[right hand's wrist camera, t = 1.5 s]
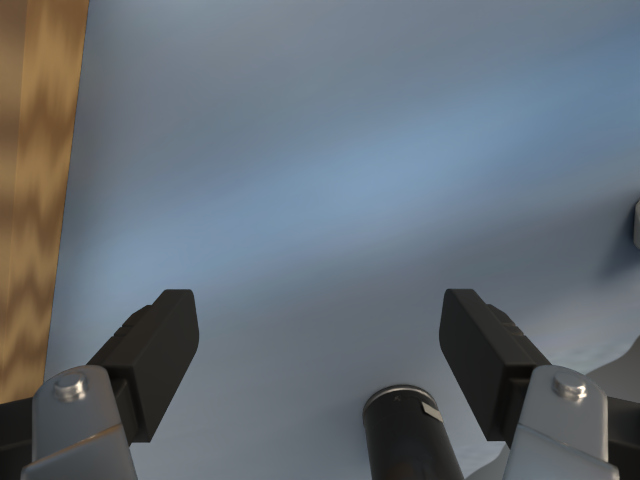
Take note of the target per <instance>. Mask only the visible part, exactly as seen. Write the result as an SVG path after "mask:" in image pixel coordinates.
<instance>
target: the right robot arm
mask: <svg viewBox="0 0 640 480" xmlns="http://www.w3.org/2000/svg"><path fill="white" fill-rule="evenodd" d="M439 341H440V346H441V350H442V352H443V354H444V356H445V358H446V360H447V362H448V364H449V366H450V368H451V370H452V372H453V374H454V376H455V378H456V380H457V382H458V384H459V386H460V388H461V390H462V392H463V394H464V396H465V398H466V400H467V402H468V404H469V406H470V408H471V410H472V412H473V414H474V416H475V418H476V420H477V422H478V424H479V426H480V428H481V430H482V432H483V434H484V436H485V438H486V439H487V441H505V442H506V443H507V445H508V447H509V449H510V453H509V457H508V460H507V464H506V467H505V471H504V475H503V478H502V480H640V403H635V402H631V401H626V400H621V399H617V398H612V397H608V396H606V394H605V393H604V391H603V390H602V389H601V388H600V387H599V385H597V384H596V383H595V382H594V381H592V380H591V379H590V378H588V377H586V376H585V375H583V374H581V373H579V372H577V371H574V370H572V369H569V368H565V367H561V366H556V365H552V364H551V363H550V362H549V361H548V360H547V359H546V358H545V356H544V355H543V354H542V353H541V352H540V351H539V350H538V349H537V348H536V347H535V345H534V344H533V343H532V342H531V341H530V340H529V339H528V338H527V337H526V336H524V335H523V332H522V331H521V330H520V329H519V328H518V327H517V326H515V323H514V322H513V321H512V320H511V319H510V318H509V317H508V316H507V315H506V314H505V313H504V312H502V311H501V310H499V309H497V308H496V307H494V306H492V305H491V304H485V303H484V301H483V300H482V299H481V298H480V297H479V296H478V294H477V293H476V292H475V291H474V290H473V289H447V290H446V292H445V294H444V300H443V307H442V315H441V322H440V329H439ZM198 343H199V328H198V321H197V314H196V307H195V300H194V295H193V292H192V290H190V289H167V290H164V291H163V293H162V294H161V295H160V296H159V297H158V298H157V300H156V301H155V302H154V303H153V304H152V305H146V306H145V307H143V308H142V309H140V310H138V311H137V312H135V313H133V314H132V315H131V316H130V317H129V318H128V319H127V320H126V321H125V323H124V324H123V325H122V327H120V328H119V329H118V330H117V331H116V332H115V333H114V336H112V337H111V338H110V339H109V340H108V341H107V342H106V343H105V344H104V346H103V347H102V348H101V349H100V350H99V351H98V352H97V353H96V354H95V355H94V356H93V358H92V359H91V360H90V361H89V362H88V363H87V364H86V365H84V366H79V367H75V368H71V369H68V370H66V371H63V372H61V373H59V374H57V375H55V376H54V377H52V378H50V379H49V380H48V381H46V382H45V383H44V384H43V385H41V387H40V388H39V389H38V390H37V391H36V393H35V394H34V396H33V397H30V398H26V399H21V400H16V401H12V402H7V403H3V404H0V480H138V478H137V475H136V471H135V467H134V464H133V460H132V457H131V453H130V449H129V447H130V445H131V443H132V442H150V441H151V439H152V437H153V435H154V434H155V432H156V430H157V428H158V426H159V424H160V422H161V420H162V418H163V416H164V414H165V412H166V410H167V408H168V406H169V404H170V402H171V400H172V398H173V396H174V394H175V392H176V390H177V388H178V386H179V384H180V382H181V381H182V379H183V377H184V375H185V373H186V371H187V369H188V367H189V365H190V363H191V361H192V359H193V357H194V355H195V353H196V351H197V348H198ZM363 423H364V427H365V432H366V439H367V447H368V454H369V461H370V468H371V475H372V480H464V477H463V474H462V472H461V469H460V467H459V464H458V461H457V459H456V456H455V454H454V451H453V448H452V446H451V443H450V441H449V438H448V435H447V433H446V430H445V427H444V425H443V423H444V422H443V419H442V416H441V414H440V412H439V410H438V407H437V404H436V402H435V400H434V399H433V397H432V396H431V395H430V394H429V393H428V392H426V391H425V390H423V389H421V388H418V387H415V386H410V385H396V386H391V387H388V388H385V389H382V390H380V391H379V392H377V393H376V394H374V395H373V396H372V397H371V398H370V399H369V400H368V401H367V403H366V404H365V407H364V409H363Z"/></svg>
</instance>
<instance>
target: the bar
mask: <svg viewBox="0 0 640 480" xmlns="http://www.w3.org/2000/svg"><path fill="white" fill-rule="evenodd" d="M88 6H89V0H0V404H3V403H7V402H12V401H16V400H21V399H26V398H30V397H33V396H34V394H35V393H36V391H37V390H38V389H39V388H40V387H41V385H43V379H44V371H45V362H46V354H47V346H48V338H49V329H50V321H51V313H52V304H53V296H54V288H55V279H56V271H57V263H58V255H59V246H60V238H61V230H62V221H63V213H64V205H65V196H66V188H67V180H68V172H69V163H70V155H71V147H72V138H73V130H74V122H75V113H76V105H77V97H78V89H79V80H80V72H81V64H82V55H83V47H84V39H85V31H86V22H87V14H88Z"/></svg>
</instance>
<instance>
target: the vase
mask: <svg viewBox="0 0 640 480" xmlns="http://www.w3.org/2000/svg"><path fill="white" fill-rule="evenodd" d="M634 245H635V246H636V247H637V248H639V249H640V200H639V202H638V203H637V204H636V208H635V221H634Z"/></svg>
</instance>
